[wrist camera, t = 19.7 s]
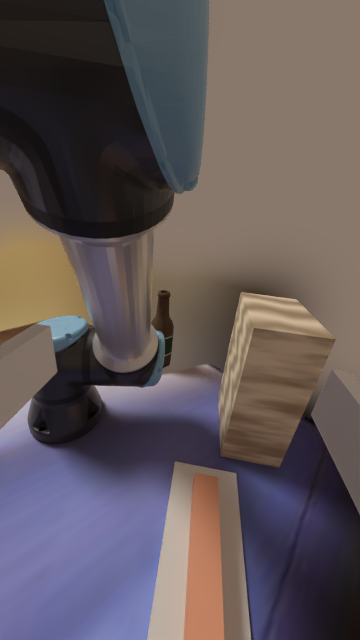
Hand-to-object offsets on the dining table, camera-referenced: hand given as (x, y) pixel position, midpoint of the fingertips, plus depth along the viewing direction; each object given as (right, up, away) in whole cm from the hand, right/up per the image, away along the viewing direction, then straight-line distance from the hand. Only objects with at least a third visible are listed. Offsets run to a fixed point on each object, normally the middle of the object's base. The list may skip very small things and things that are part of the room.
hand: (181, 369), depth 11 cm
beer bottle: (-7, -11, +65) cm, 66 cm away
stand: (+15, -23, +45) cm, 52 cm away
